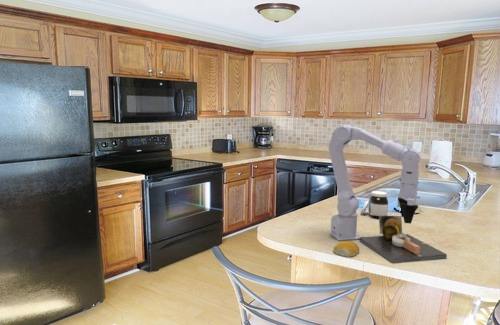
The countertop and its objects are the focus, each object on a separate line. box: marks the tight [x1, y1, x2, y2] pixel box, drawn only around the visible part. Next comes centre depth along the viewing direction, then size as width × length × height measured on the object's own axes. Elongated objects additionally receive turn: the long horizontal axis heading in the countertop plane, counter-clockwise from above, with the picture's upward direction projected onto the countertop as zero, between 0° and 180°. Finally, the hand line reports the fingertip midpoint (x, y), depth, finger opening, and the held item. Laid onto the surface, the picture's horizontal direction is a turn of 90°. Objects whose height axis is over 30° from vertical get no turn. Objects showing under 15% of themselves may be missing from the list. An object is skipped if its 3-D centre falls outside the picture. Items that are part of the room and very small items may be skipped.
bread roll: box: [333, 240, 360, 258], centre depth 131 cm, size 8×9×4 cm
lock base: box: [358, 232, 448, 264], centre depth 135 cm, size 21×21×6 cm
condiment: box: [378, 215, 403, 239], centre depth 144 cm, size 7×8×12 cm
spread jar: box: [360, 190, 389, 220], centre depth 177 cm, size 12×11×12 cm
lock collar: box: [392, 235, 420, 254], centre depth 132 cm, size 12×6×2 cm, turn 13°
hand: (406, 220), depth 136 cm, fingers open, 7 cm apart
